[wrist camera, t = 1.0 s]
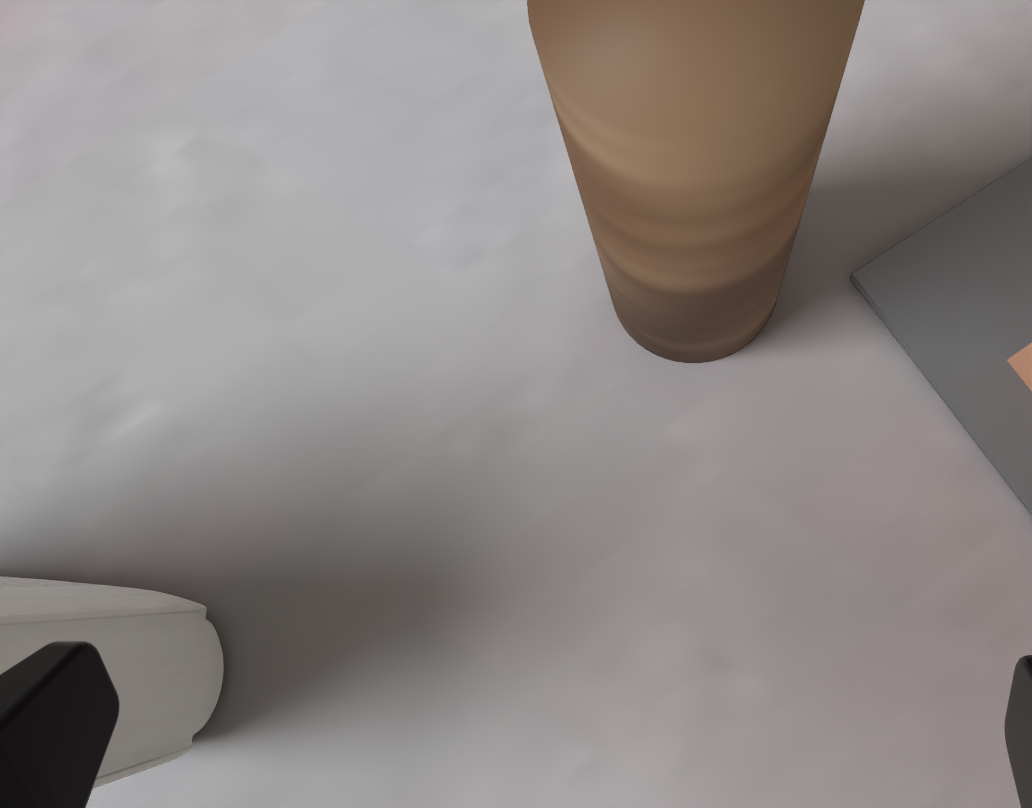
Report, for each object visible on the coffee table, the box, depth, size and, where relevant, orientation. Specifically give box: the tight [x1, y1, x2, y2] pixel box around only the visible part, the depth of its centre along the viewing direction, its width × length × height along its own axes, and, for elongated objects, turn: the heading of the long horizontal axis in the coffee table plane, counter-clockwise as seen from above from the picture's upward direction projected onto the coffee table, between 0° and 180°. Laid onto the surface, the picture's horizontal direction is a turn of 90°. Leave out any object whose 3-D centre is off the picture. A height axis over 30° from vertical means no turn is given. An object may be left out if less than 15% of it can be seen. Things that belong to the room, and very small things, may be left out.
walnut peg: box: [527, 0, 865, 363], centre depth 17 cm, size 4×4×12 cm
